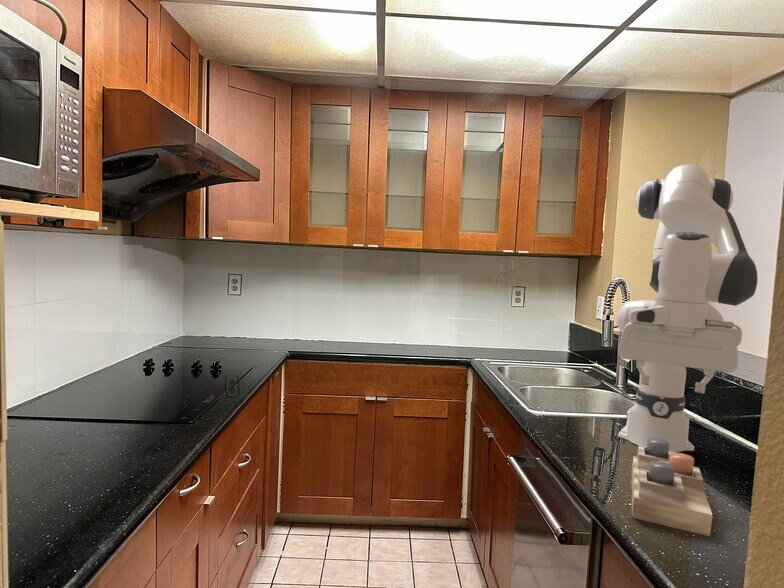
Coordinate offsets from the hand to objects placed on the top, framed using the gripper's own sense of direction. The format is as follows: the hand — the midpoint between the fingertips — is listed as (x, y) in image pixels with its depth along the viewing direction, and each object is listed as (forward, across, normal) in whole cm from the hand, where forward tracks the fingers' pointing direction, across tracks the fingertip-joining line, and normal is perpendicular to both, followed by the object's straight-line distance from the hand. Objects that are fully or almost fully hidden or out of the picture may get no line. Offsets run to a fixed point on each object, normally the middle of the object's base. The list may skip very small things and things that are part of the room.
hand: (671, 388), depth 103 cm
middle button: (+18, -4, -8) cm, 20 cm away
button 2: (+18, 0, 0) cm, 18 cm away
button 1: (+18, 0, -16) cm, 24 cm away
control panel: (+25, -2, -8) cm, 26 cm away
